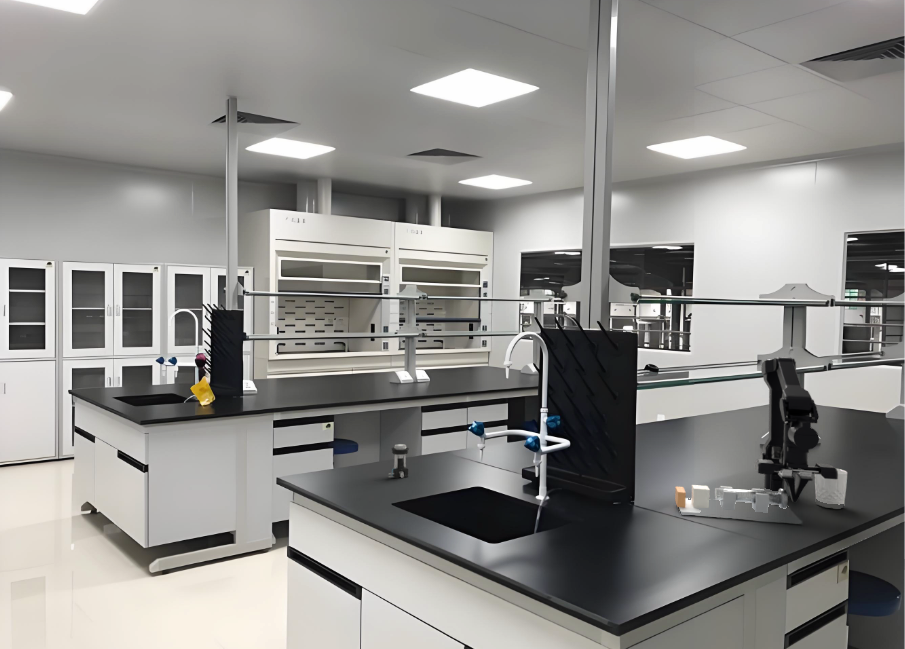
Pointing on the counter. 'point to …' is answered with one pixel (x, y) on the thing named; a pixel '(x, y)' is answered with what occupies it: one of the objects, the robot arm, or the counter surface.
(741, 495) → the shaft
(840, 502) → the white cup
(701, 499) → the block
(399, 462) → the push button
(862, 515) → the counter surface
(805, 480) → the robot arm
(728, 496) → the bearing rail
